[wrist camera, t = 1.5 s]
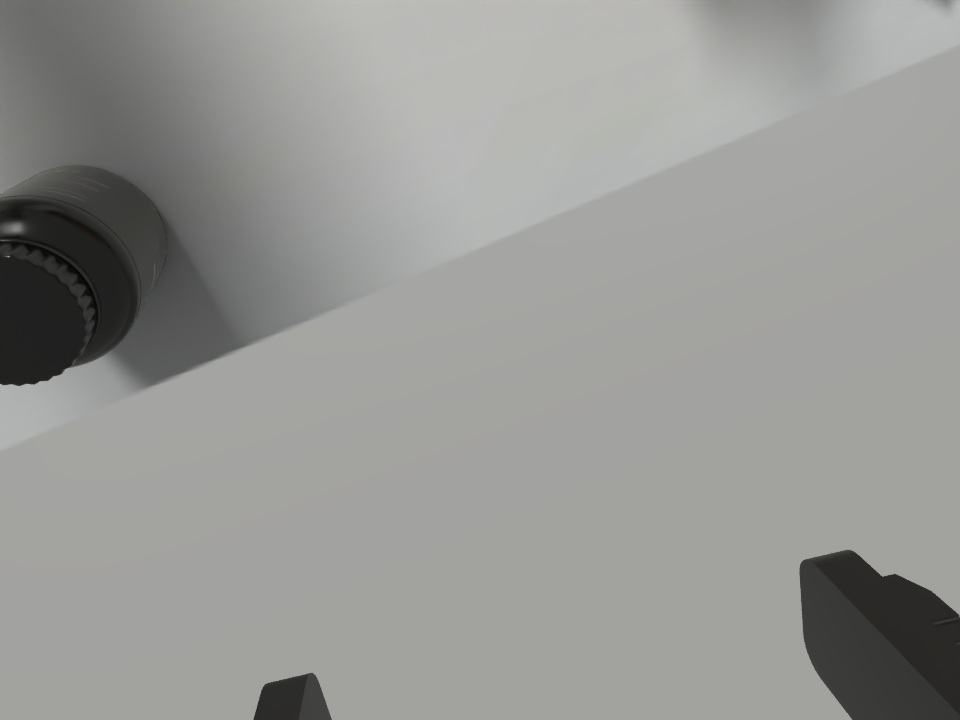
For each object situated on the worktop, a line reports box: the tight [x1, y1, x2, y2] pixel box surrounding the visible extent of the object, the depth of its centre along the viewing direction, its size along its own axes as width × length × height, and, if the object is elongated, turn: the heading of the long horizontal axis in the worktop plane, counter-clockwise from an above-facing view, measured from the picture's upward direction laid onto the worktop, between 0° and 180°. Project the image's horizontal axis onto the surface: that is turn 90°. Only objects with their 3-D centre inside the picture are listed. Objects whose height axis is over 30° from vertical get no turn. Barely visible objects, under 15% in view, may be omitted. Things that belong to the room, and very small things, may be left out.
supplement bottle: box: [0, 165, 167, 386], centre depth 28 cm, size 7×7×12 cm
